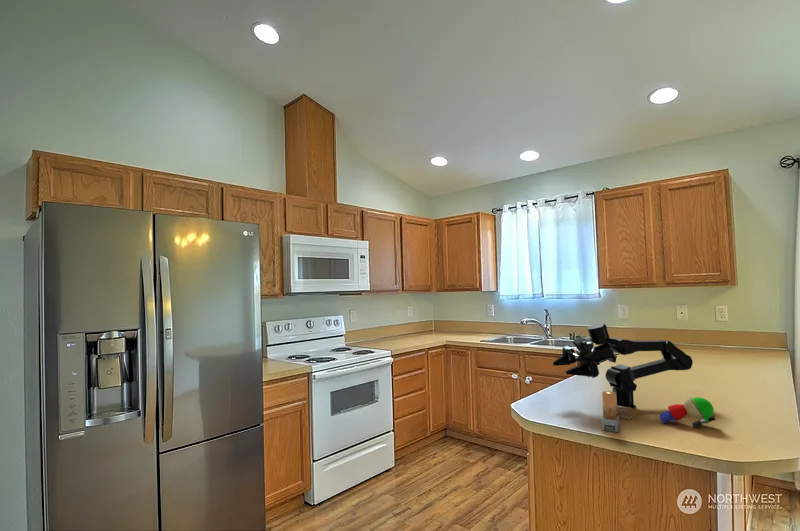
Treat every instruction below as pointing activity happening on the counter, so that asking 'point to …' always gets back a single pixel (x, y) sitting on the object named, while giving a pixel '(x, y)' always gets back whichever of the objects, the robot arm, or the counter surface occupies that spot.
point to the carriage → (610, 410)
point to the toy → (690, 411)
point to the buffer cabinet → (624, 412)
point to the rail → (612, 428)
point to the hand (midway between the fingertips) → (559, 368)
